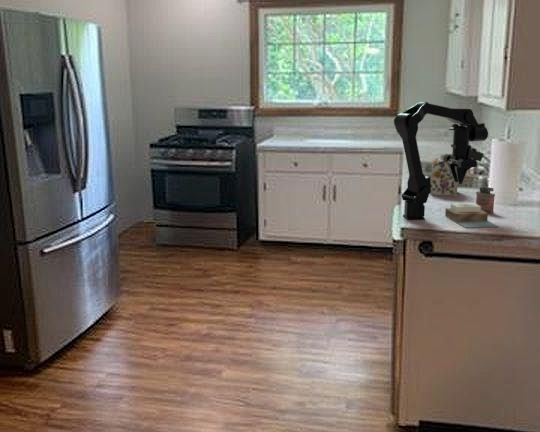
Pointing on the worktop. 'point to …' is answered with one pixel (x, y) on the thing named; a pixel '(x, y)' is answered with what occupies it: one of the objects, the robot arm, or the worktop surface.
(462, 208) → the rectangular block
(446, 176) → the decorative jar
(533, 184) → the worktop surface
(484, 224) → the mat
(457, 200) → the worktop surface
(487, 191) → the lighter
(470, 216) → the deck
